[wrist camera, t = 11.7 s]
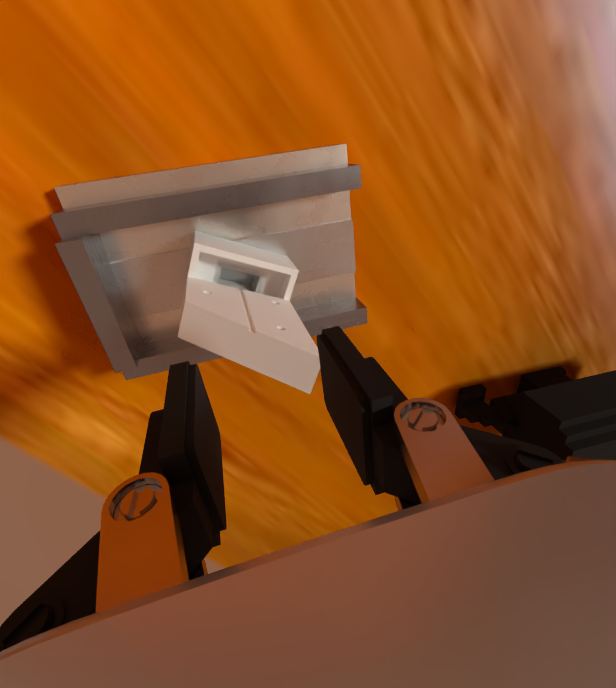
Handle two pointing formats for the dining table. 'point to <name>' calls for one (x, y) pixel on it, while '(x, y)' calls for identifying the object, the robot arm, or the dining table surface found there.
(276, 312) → the white wedge bracket
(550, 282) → the dining table surface
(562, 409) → the security camera
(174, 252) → the rail board
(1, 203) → the dining table surface
